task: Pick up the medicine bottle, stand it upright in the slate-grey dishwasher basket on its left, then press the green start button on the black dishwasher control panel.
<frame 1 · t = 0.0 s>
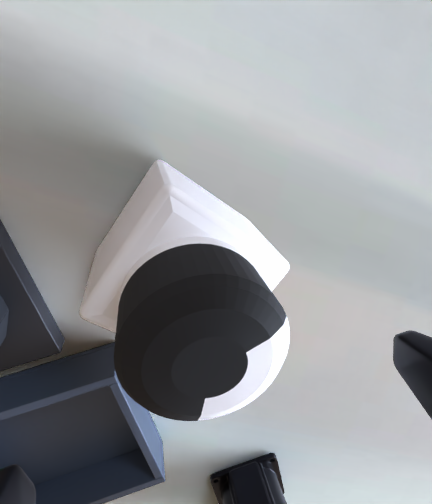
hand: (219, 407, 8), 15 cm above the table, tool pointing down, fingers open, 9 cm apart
dishwasher basket: (63, 421, 26), on the table
medicine bottle: (173, 234, 22), on the table
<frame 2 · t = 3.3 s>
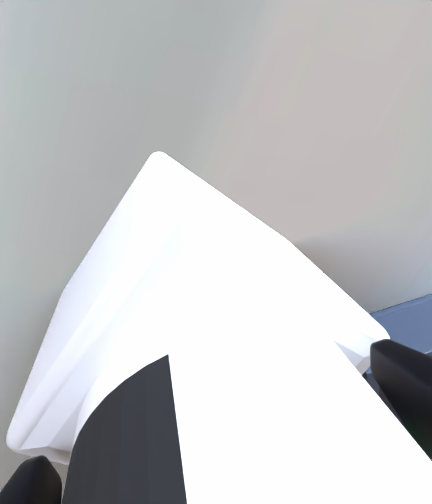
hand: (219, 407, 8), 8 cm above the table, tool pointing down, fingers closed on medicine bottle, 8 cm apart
dishwasher basket: (417, 376, 21), on the table
medicine bottle: (180, 264, 15), on the table, touching gripper
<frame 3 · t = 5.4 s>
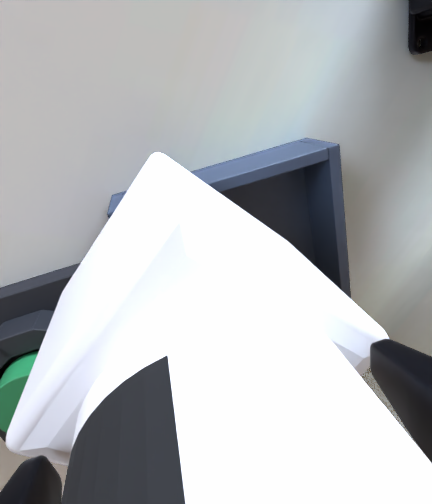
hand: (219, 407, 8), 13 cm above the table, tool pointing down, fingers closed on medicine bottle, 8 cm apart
dishwasher basket: (235, 261, 21), on the table
start button: (44, 395, 17), point 4 cm above the table, slide at 0.1 cm
medicine bottle: (179, 264, 15), point 5 cm above the table, touching gripper
control panel: (58, 349, 21), on the table
when the fingers open (8 cm above the table, at t = 7.6 s): medicine bottle stays where it is, resting on dishwasher basket.
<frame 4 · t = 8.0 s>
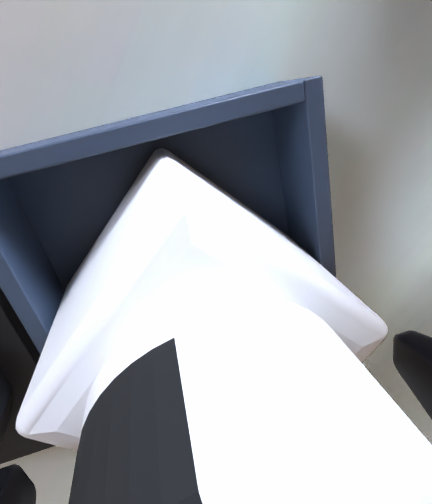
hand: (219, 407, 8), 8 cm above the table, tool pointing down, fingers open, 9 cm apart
dishwasher basket: (180, 259, 15), on the table
medicine bottle: (182, 259, 15), resting on dishwasher basket
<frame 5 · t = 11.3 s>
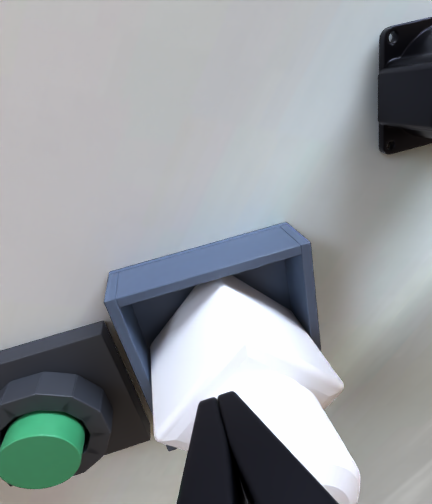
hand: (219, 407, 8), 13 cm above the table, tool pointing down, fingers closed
dishwasher basket: (220, 324, 23), on the table
start button: (43, 449, 20), point 4 cm above the table, slide at 0.1 cm
medicine bottle: (221, 325, 23), resting on dishwasher basket
control panel: (57, 399, 23), on the table
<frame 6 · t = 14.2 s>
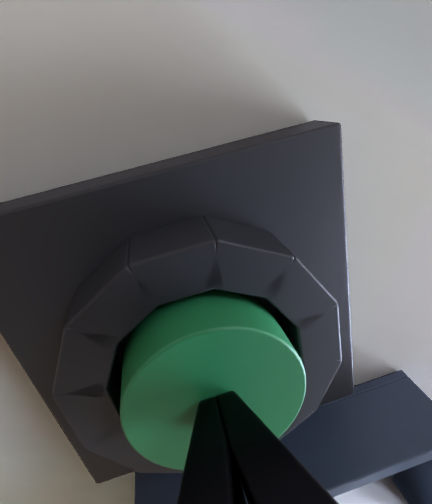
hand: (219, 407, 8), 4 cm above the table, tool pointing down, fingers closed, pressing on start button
dishwasher basket: (289, 488, 17), on the table
start button: (211, 379, 9), point 3 cm above the table, slide at -0.3 cm, touching gripper
medicine bottle: (291, 493, 17), resting on dishwasher basket
control panel: (192, 308, 12), on the table
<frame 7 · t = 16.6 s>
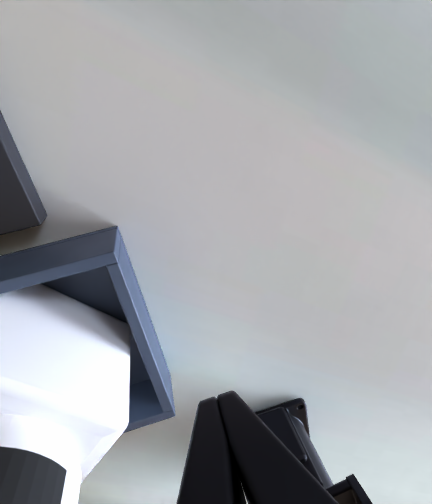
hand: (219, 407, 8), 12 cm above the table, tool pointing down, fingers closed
dishwasher basket: (45, 338, 20), on the table
medicine bottle: (46, 341, 20), resting on dishwasher basket
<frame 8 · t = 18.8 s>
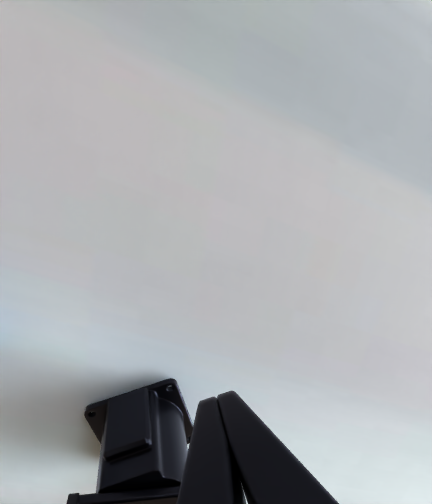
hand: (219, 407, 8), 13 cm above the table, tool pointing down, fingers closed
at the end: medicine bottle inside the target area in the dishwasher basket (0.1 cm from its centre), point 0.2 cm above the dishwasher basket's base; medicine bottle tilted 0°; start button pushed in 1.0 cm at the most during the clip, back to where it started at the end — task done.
